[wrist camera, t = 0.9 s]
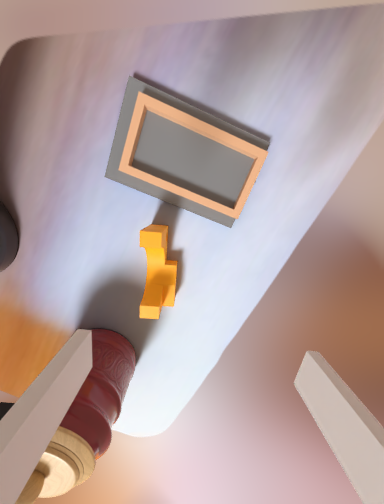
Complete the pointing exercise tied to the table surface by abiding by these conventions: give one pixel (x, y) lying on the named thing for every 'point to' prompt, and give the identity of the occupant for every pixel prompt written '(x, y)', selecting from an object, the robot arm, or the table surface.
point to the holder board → (184, 154)
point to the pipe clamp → (157, 272)
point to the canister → (85, 420)
